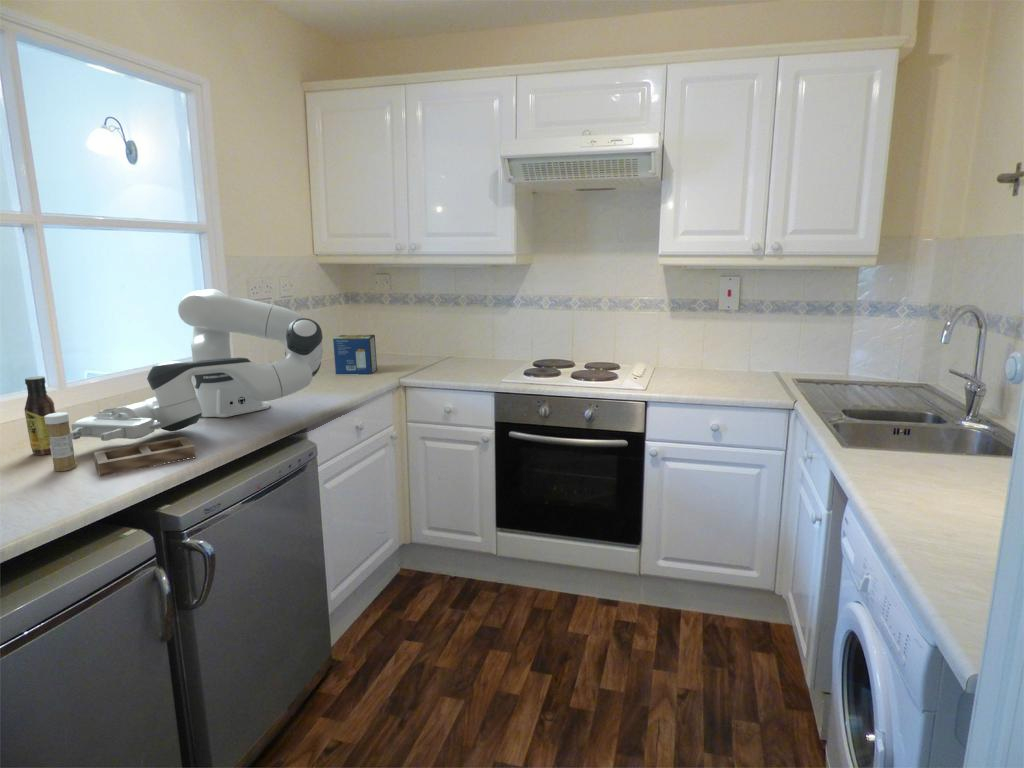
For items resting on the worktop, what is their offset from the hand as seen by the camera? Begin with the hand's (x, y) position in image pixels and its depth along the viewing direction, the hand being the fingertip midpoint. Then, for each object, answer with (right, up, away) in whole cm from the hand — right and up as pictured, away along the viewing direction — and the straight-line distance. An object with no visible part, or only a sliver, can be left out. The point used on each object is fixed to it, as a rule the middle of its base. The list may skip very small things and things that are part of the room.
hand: (86, 437), depth 152 cm
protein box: (+38, +18, +113) cm, 121 cm away
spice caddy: (+14, -6, +1) cm, 15 cm away
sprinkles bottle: (-2, -7, -4) cm, 9 cm away
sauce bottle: (-16, -5, +9) cm, 19 cm away
